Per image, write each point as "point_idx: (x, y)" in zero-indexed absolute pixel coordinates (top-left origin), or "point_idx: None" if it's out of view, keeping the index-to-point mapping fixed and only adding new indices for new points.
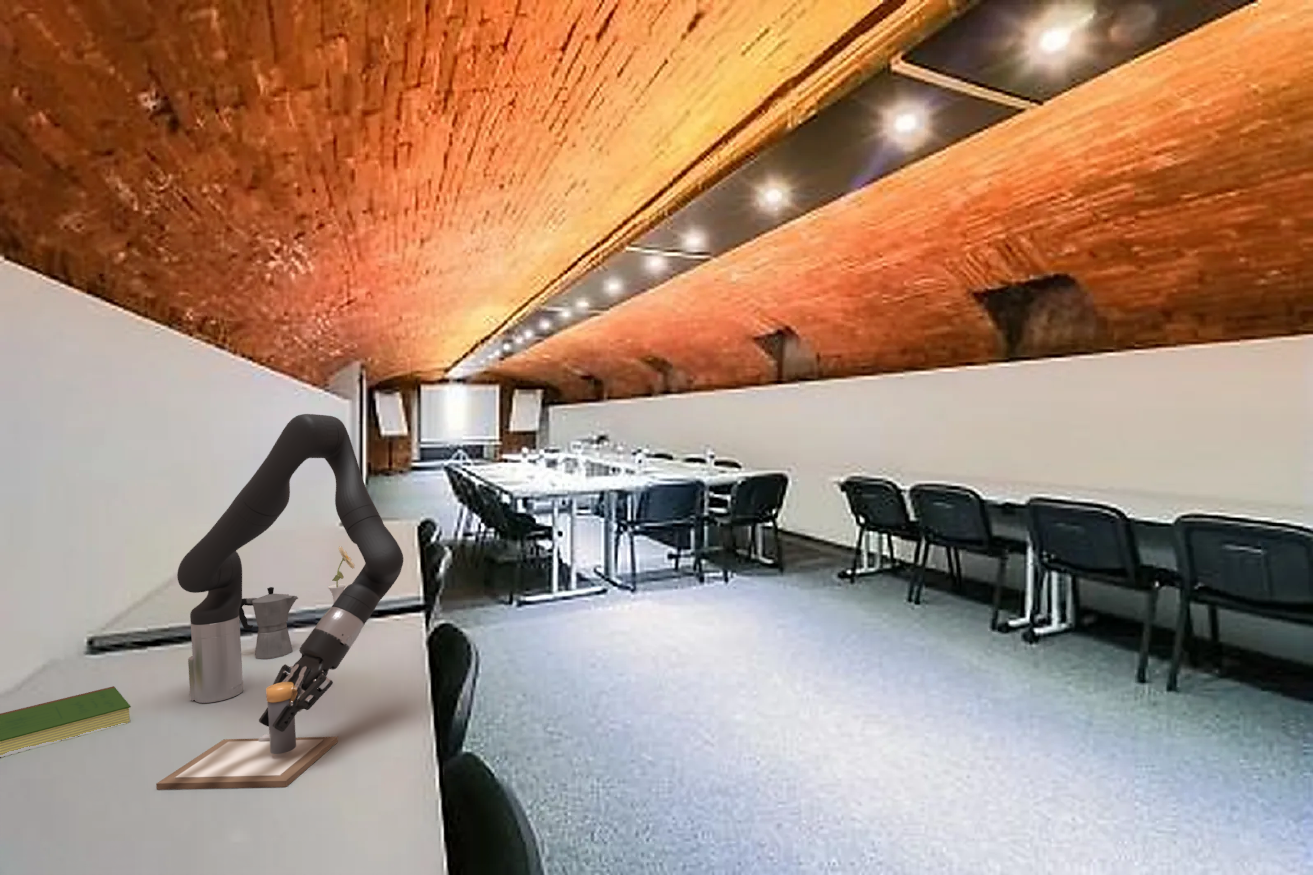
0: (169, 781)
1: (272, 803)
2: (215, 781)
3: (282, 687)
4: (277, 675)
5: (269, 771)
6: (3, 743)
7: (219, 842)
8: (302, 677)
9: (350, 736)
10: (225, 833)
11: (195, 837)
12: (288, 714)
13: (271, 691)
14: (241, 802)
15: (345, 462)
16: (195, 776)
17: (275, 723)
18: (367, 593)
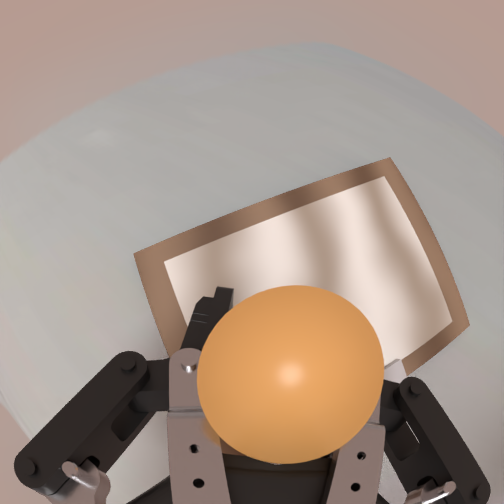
0: (379, 167)
1: (116, 207)
2: (292, 193)
3: (248, 373)
4: (470, 453)
5: (205, 264)
6: None
7: (114, 120)
8: (178, 497)
9: None
10: (122, 131)
11: (157, 110)
12: (185, 333)
13: (267, 292)
14: (176, 185)
15: None
16: (352, 190)
17: (219, 291)
18: None
